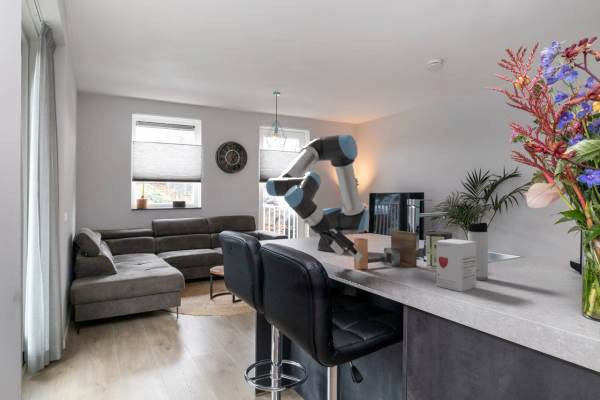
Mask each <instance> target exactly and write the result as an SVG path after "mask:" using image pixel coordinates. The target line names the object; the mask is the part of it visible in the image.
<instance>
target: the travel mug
mask: <svg viewBox="0 0 600 400" xmlns="http://www.w3.org/2000/svg"><path fill="white" fill-rule="evenodd" d="M467 228H468V229H467V241H476V281H487V280H488V279H489V273H488V272H489V270H488V269H489V267H488V265H489V263H488V259H489V258H488V257H489V253H488V252H489V250H488V247H489V246H488V242H489V241H488V239H489V238H488V223H487V222H479V223H469V224H467Z"/></svg>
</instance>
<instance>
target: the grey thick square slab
mask: <svg viewBox="0 0 600 400" xmlns="http://www.w3.org/2000/svg"><path fill="white" fill-rule="evenodd" d="M383 256H385V257H386V262H385V263H383V264H384V265H386V266H388V267H393V268H398V267H401V266H400V250H399V249H394V248H391V247H384V248H383Z"/></svg>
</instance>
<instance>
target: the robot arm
mask: <svg viewBox="0 0 600 400" xmlns="http://www.w3.org/2000/svg"><path fill="white" fill-rule="evenodd" d="M357 157H358V147H357V142H356V140H355V138H354V137H353V136H352V135H351V134H338V135H329V136H328V135H327V136H319V137H317V138H315V139H313V140H311V141H309V142H307V144H306V145H304V146H303V147H302V148H301V150H300V151H299V154H298V155H297V156H296V158H294V160H293V161H292V162H291V163H289V164H288V166H287V167H286V168H285V169H284V170H283V171H282V172H281V173H280V174H279V175H278V177H270V178H269V179H267V181H266V185H265V189H266V190H265V191H266V192H267V194H268V196H271V197H284V201H285V202H286V203H287V204H288V207H290V208H291V209H292V210H293V211H294V212H295V213H296V214H297V215H298V216H299V217H300V218H301V219H302V220H303V223H304V224H306V225H308V226H309V227H310V228H311V230H312V231H313V232H314V233H315V234H318V235H319V240H318V244H317V250H318V251H321V252H335V253H336V254H337V255H338V256H339V257H341V256H342V255H343V254H344V252H345V250H346V252H348V253H349V254H350V255H351V256H352V257H353V259H354V258H355V259H356V260H357V261H359V260H360V259H361V258H362V255H361V254H360V253H359V251H358V250H357V249H356V248H355V247H354V245H355V244H354V241H352V240H351V239H350V238H348V237H347V236H346V235H345V234H343V232H357V233H359V232H365V231H366V230H367V229H368V226H369V223H370V222H369V221H370V212H369V209H365V206H364V204H363V203H361V201H360V196H359V189H358V186H357V185H358V184H357V181H356V176H355V169H354V162H355V159H356V158H357ZM321 161H322V162H324V161H330V164H331V166H332V167H334V168H335V172H336V178H337V181H338V185H339V190H340V194H341V200H342V204H343V207H342V206H336V207H329V208H323V209H321V208H320V207H319V206H318V205H317V204H316V203H315V201H313V200H314V198H315V196H316V195H317V192H318V191H319V189H320V186H321V183H322V179H321V176H320V175H319V174H318V173H316V172H314V171H309V169H310V168H311V167H312V165H316V164H317V163H318V162H321Z"/></svg>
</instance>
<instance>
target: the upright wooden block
mask: <svg viewBox="0 0 600 400" xmlns="http://www.w3.org/2000/svg"><path fill="white" fill-rule="evenodd" d="M368 240H369V239H368V238H363V237H356V238H353V243H354V244H355V245H354V247H355V248H356V249H357V250H358V251H359V253H360V254H361V255H362V258H361V259H360V260H359V261H357V260H356V259H355V258H354V257H353V269H357V270H361V271H362V270H369V264H372V263H383V264H384V263H385V262H386V257H385V256H384V255H379V256H380V257H378V256H377V257H369V250H368V249H369V245H368V243H369V241H368Z"/></svg>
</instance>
